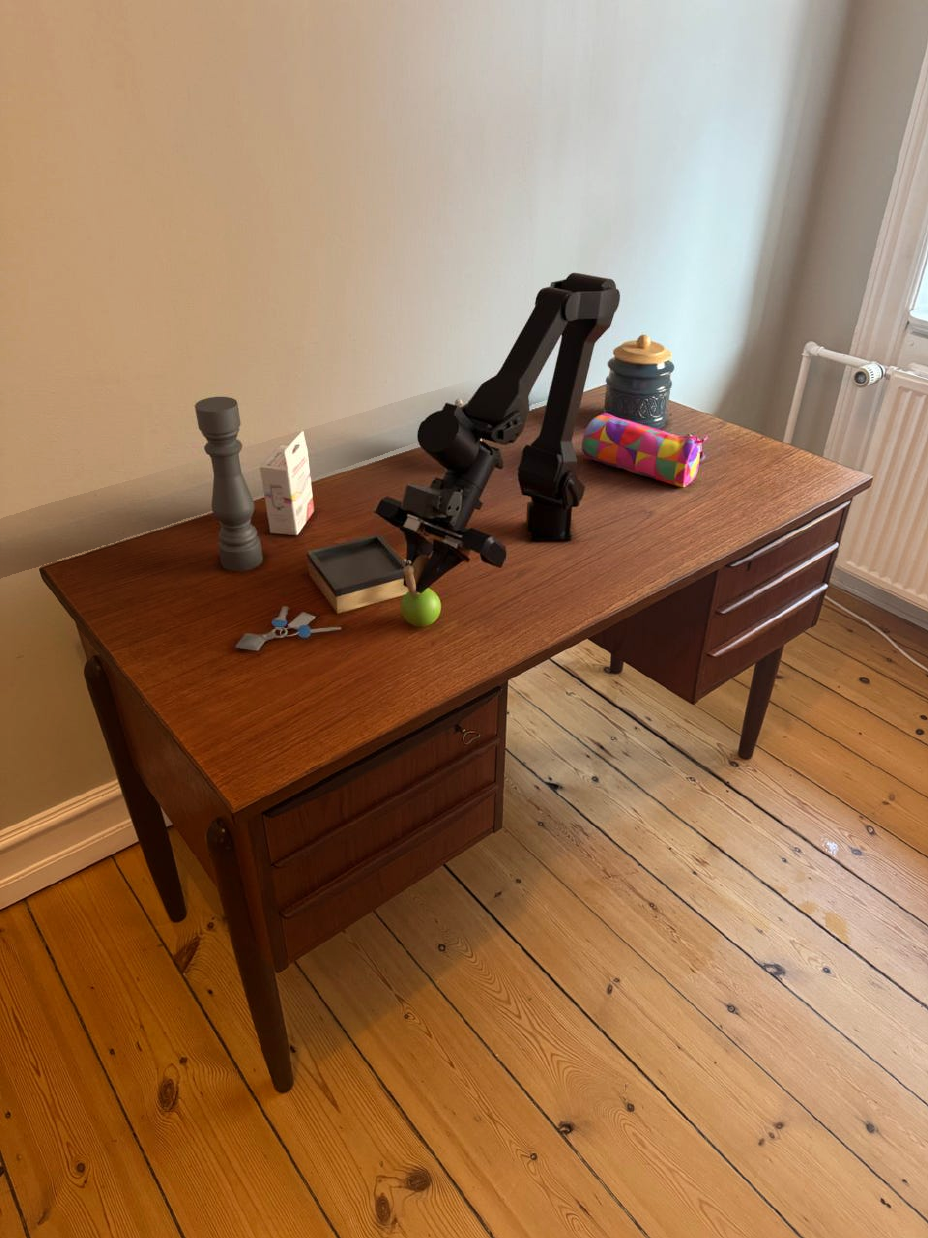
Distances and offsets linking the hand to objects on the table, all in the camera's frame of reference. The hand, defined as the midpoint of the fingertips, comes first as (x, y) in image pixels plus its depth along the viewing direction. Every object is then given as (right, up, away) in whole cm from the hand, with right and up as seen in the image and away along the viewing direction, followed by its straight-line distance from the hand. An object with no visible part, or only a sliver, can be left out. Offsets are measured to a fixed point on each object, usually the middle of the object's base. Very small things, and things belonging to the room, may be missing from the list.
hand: (412, 589), depth 116 cm
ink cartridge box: (-21, +12, +29) cm, 38 cm away
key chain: (-18, -5, +4) cm, 19 cm away
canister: (+42, +36, +63) cm, 84 cm away
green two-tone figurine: (+1, -5, +5) cm, 7 cm away
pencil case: (+39, +23, +45) cm, 64 cm away
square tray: (-8, +1, +13) cm, 16 cm away
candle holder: (-27, +5, +19) cm, 33 cm away
